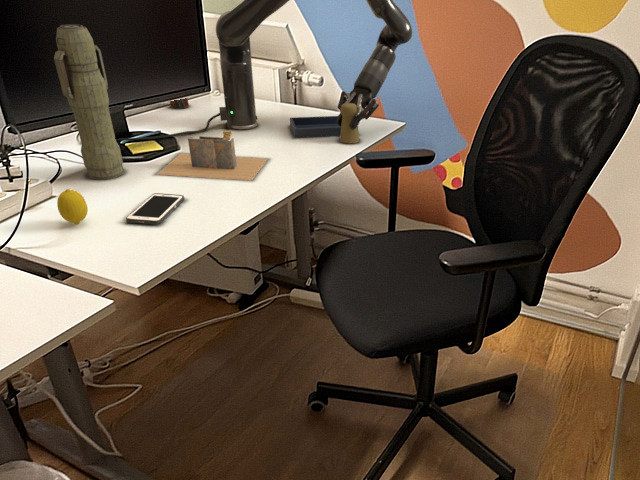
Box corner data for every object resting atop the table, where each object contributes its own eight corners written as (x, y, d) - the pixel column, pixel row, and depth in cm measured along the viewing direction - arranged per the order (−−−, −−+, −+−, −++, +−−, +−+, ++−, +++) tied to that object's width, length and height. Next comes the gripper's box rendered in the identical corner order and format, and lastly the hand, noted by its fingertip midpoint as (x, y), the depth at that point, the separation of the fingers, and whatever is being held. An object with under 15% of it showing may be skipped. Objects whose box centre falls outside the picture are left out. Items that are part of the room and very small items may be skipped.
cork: (336, 138, 185) (335, 102, 179) (355, 136, 188) (354, 100, 182) (343, 144, 181) (342, 107, 175) (362, 142, 183) (362, 105, 177)
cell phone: (124, 222, 131) (124, 218, 130) (154, 196, 143) (153, 192, 142) (159, 225, 130) (158, 221, 130) (185, 198, 143) (185, 195, 142)
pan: (294, 138, 184) (294, 129, 183) (290, 125, 195) (289, 117, 193) (358, 135, 189) (358, 126, 188) (350, 123, 199) (350, 115, 198)
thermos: (74, 178, 151) (34, 27, 132) (107, 163, 160) (74, 21, 141) (104, 184, 148) (67, 31, 130) (135, 168, 158) (105, 24, 139)
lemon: (95, 218, 132) (86, 184, 128) (85, 229, 127) (75, 194, 123) (69, 218, 132) (60, 183, 127) (58, 229, 127) (48, 194, 123)
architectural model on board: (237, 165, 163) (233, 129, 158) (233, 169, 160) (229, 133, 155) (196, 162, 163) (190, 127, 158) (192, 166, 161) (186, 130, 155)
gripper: (348, 66, 182) (321, 114, 181) (384, 74, 175) (356, 124, 173) (359, 81, 189) (334, 128, 187) (395, 90, 181) (368, 138, 180)
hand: (345, 126), depth 180 cm, fingers closed on cork, 4 cm apart
